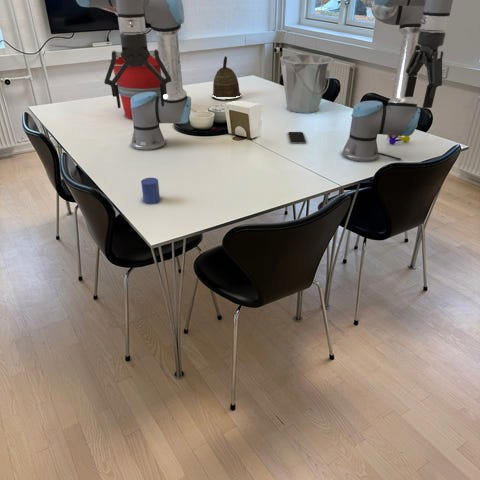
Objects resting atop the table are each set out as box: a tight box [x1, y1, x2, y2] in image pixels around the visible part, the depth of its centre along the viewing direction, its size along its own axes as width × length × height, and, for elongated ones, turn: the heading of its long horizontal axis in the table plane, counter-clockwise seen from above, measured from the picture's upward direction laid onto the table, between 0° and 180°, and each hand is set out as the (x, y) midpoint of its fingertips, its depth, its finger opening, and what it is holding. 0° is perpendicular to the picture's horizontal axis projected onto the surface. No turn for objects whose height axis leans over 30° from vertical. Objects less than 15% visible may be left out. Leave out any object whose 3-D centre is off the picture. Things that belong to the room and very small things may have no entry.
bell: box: [212, 56, 242, 97], centre depth 278 cm, size 19×26×20 cm
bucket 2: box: [279, 53, 334, 114], centre depth 253 cm, size 30×30×28 cm
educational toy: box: [387, 123, 418, 145], centre depth 207 cm, size 16×13×15 cm
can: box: [140, 177, 161, 205], centre depth 157 cm, size 6×6×8 cm
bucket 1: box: [107, 55, 161, 121], centre depth 241 cm, size 35×35×30 cm
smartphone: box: [288, 131, 307, 144], centre depth 215 cm, size 7×1×15 cm
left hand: (141, 106), depth 141 cm, fingers open, 13 cm apart
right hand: (417, 102), depth 145 cm, fingers open, 13 cm apart
